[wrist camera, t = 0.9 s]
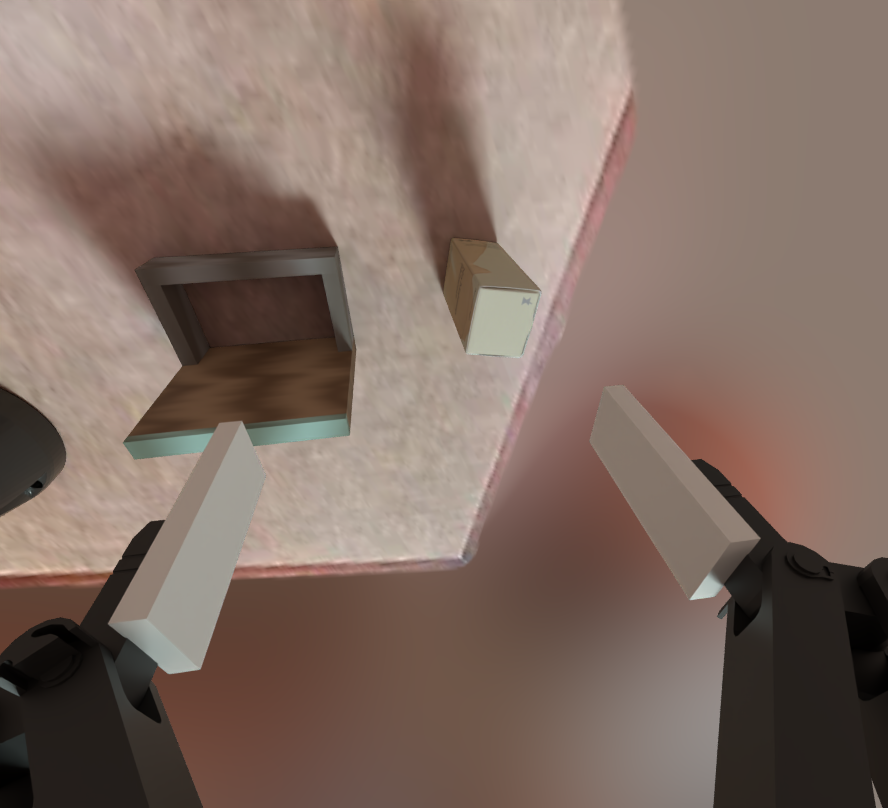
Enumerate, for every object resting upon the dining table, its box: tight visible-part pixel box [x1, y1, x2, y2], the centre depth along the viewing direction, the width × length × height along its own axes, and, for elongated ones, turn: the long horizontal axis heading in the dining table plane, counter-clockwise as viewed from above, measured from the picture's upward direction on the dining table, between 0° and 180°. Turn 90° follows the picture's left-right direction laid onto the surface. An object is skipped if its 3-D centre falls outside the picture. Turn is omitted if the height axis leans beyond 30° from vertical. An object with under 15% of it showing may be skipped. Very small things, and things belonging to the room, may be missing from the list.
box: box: [443, 238, 541, 358], centre depth 30 cm, size 5×4×11 cm
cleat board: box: [123, 247, 356, 459], centre depth 28 cm, size 14×10×13 cm
